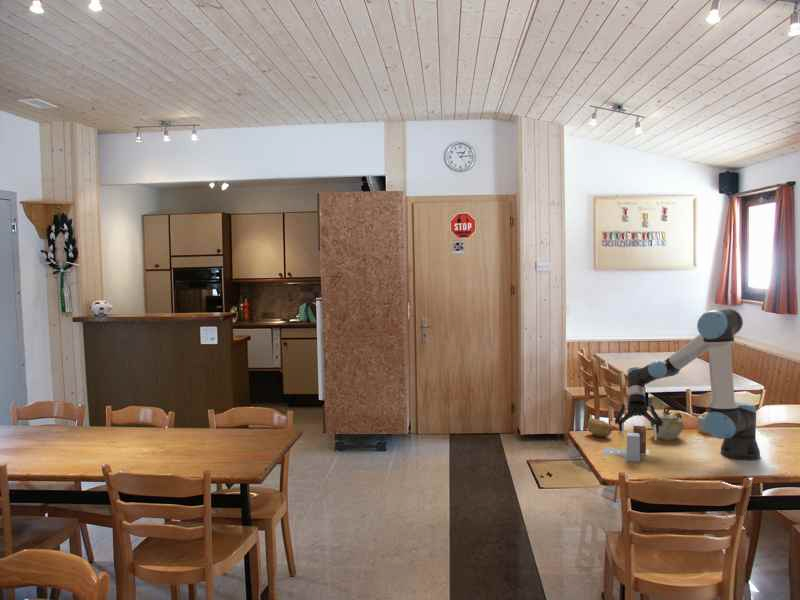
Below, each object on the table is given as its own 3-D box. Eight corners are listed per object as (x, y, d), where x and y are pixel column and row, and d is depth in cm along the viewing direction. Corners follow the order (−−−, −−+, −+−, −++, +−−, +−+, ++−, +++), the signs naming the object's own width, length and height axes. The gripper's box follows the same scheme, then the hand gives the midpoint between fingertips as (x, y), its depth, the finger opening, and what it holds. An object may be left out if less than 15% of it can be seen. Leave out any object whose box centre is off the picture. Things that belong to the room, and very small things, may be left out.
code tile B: (642, 458, 269) (642, 457, 269) (643, 463, 262) (643, 463, 262) (622, 456, 272) (622, 455, 272) (623, 462, 264) (623, 461, 264)
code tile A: (625, 449, 281) (625, 449, 281) (626, 456, 271) (626, 456, 271) (602, 448, 284) (602, 447, 284) (602, 455, 274) (602, 454, 274)
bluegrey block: (638, 458, 268) (638, 433, 268) (639, 461, 264) (639, 436, 263) (626, 457, 270) (626, 432, 269) (627, 460, 265) (627, 435, 264)
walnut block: (644, 450, 279) (645, 426, 278) (645, 453, 274) (646, 429, 274) (633, 449, 281) (633, 425, 280) (633, 452, 276) (633, 428, 275)
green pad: (648, 450, 280) (648, 449, 280) (649, 455, 272) (649, 455, 272) (629, 448, 282) (629, 448, 282) (630, 454, 275) (630, 453, 275)
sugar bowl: (664, 444, 288) (665, 412, 287) (639, 436, 302) (639, 406, 300) (694, 438, 297) (694, 407, 296) (668, 430, 310) (668, 401, 309)
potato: (601, 441, 294) (601, 425, 294) (582, 433, 307) (582, 418, 307) (617, 438, 298) (618, 422, 298) (598, 431, 311) (598, 415, 311)
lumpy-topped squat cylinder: (729, 433, 304) (730, 415, 304) (706, 435, 302) (706, 417, 301) (714, 427, 315) (715, 410, 314) (692, 429, 312) (692, 412, 311)
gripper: (664, 402, 289) (668, 443, 276) (608, 400, 296) (609, 440, 283) (666, 394, 283) (670, 435, 270) (609, 391, 291) (610, 432, 277)
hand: (639, 438), depth 276 cm, fingers open, 13 cm apart
